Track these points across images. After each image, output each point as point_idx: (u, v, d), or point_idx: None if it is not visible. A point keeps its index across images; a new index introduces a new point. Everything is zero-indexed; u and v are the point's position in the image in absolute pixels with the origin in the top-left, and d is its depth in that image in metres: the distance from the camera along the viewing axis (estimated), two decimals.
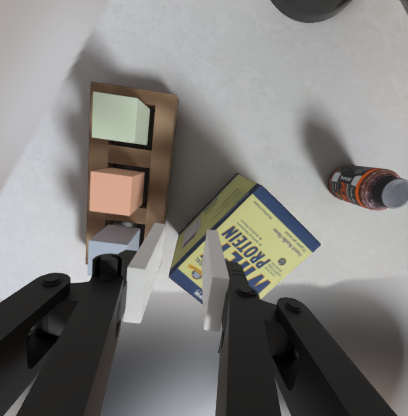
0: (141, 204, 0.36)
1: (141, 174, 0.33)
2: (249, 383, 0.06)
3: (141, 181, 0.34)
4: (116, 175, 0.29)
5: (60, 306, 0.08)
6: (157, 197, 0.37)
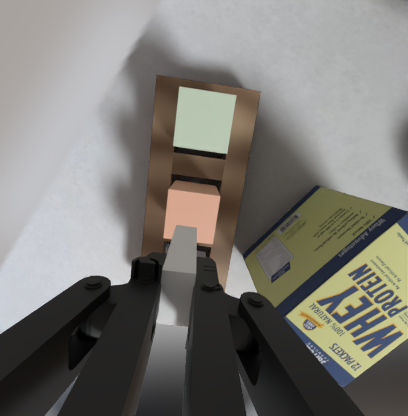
0: None
1: (216, 189, 0.27)
2: (213, 377, 0.06)
3: None
4: (200, 194, 0.22)
5: (103, 308, 0.08)
6: (228, 215, 0.30)
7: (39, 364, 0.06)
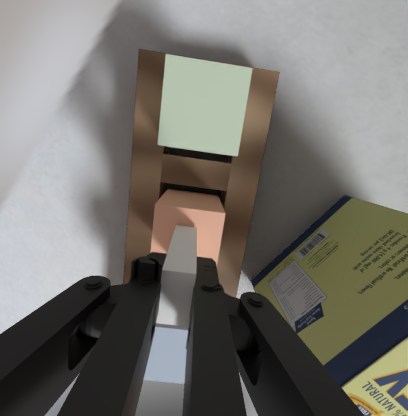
0: None
1: (219, 201, 0.21)
2: (213, 377, 0.06)
3: None
4: (198, 210, 0.17)
5: (103, 308, 0.08)
6: (235, 235, 0.23)
7: (39, 364, 0.06)
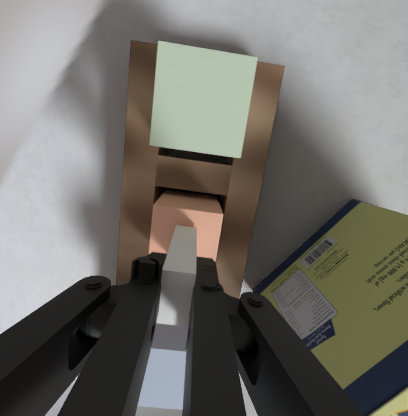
0: None
1: (217, 202, 0.21)
2: (213, 377, 0.06)
3: None
4: (196, 211, 0.17)
5: (103, 308, 0.08)
6: (236, 243, 0.22)
7: (39, 364, 0.06)
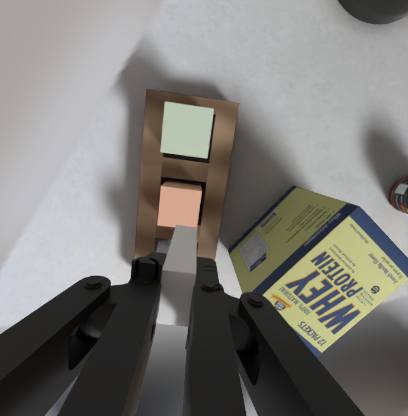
0: None
1: (200, 187, 0.33)
2: (213, 377, 0.06)
3: None
4: (186, 189, 0.29)
5: (103, 308, 0.08)
6: (213, 213, 0.34)
7: (39, 364, 0.06)
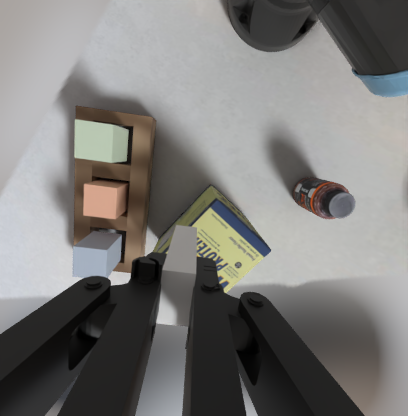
0: (127, 209, 0.43)
1: (126, 184, 0.41)
2: (213, 377, 0.06)
3: (126, 190, 0.41)
4: (104, 187, 0.36)
5: (103, 308, 0.08)
6: (136, 206, 0.41)
7: (39, 364, 0.06)
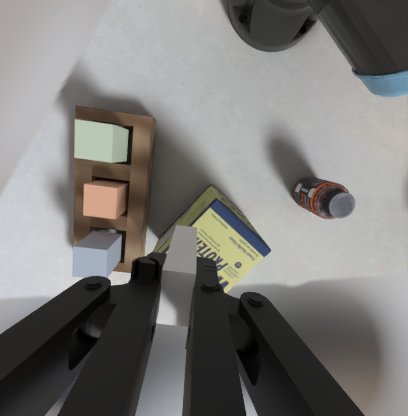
0: (127, 209, 0.43)
1: (126, 184, 0.41)
2: (213, 377, 0.06)
3: (126, 190, 0.41)
4: (104, 187, 0.36)
5: (103, 308, 0.08)
6: (136, 206, 0.41)
7: (39, 364, 0.06)
